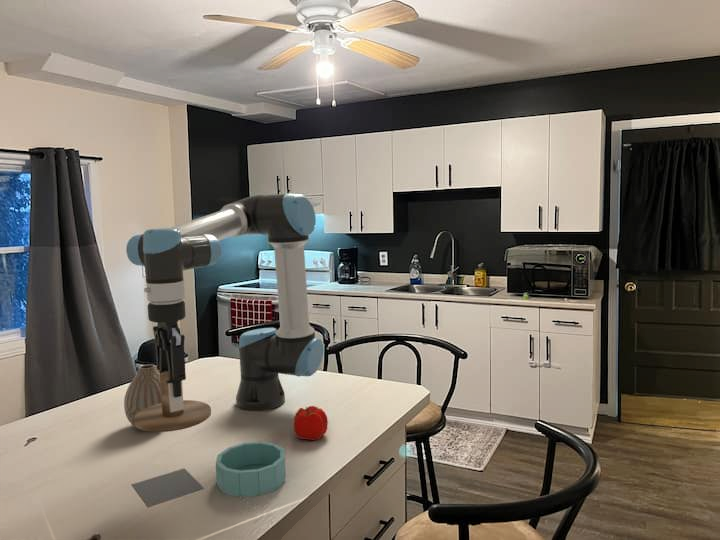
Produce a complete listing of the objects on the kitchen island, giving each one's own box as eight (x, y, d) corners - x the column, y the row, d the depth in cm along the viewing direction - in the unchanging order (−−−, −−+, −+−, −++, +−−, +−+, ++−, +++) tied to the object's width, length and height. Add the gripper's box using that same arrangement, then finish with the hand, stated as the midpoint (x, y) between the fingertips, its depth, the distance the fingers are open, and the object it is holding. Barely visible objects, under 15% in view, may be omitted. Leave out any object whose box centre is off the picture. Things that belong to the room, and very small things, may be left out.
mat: (131, 486, 124) (131, 484, 124) (184, 469, 131) (184, 468, 131) (148, 508, 115) (147, 507, 115) (204, 489, 122) (204, 488, 122)
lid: (125, 414, 123) (122, 371, 122) (195, 398, 133) (193, 358, 131) (146, 438, 110) (142, 391, 109) (222, 418, 120) (220, 374, 119)
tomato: (312, 427, 155) (312, 401, 154) (334, 436, 149) (333, 409, 148) (285, 437, 149) (284, 410, 148) (306, 447, 143) (306, 419, 142)
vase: (117, 427, 158) (113, 367, 156) (161, 414, 167) (157, 357, 165) (139, 440, 149) (134, 376, 147) (183, 425, 158) (180, 365, 156)
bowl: (207, 478, 127) (205, 454, 126) (266, 459, 136) (265, 436, 135) (235, 506, 115) (234, 479, 114) (298, 483, 124) (297, 458, 124)
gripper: (136, 298, 123) (143, 399, 126) (161, 309, 109) (168, 423, 112) (170, 294, 128) (176, 392, 131) (198, 304, 114) (204, 414, 117)
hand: (173, 406), depth 121 cm, fingers closed on lid, 4 cm apart
